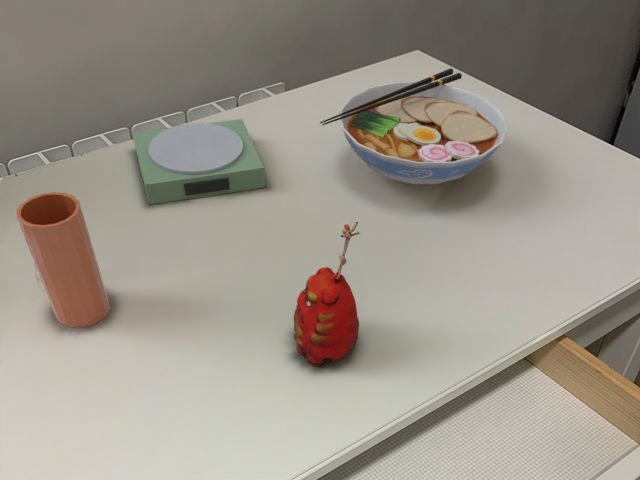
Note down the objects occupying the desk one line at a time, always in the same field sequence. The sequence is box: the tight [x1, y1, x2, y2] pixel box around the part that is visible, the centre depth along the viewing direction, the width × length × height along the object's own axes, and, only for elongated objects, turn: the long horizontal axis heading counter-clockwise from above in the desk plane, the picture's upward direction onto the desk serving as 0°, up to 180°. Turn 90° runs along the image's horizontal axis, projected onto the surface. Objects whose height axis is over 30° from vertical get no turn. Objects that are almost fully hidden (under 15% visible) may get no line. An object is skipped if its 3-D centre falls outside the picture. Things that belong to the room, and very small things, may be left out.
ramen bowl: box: [319, 67, 509, 185], centre depth 93 cm, size 25×23×8 cm
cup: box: [16, 191, 110, 328], centre depth 71 cm, size 6×6×13 cm
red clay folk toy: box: [293, 221, 361, 366], centre depth 67 cm, size 8×7×15 cm
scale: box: [132, 118, 266, 205], centre depth 93 cm, size 16×14×4 cm
